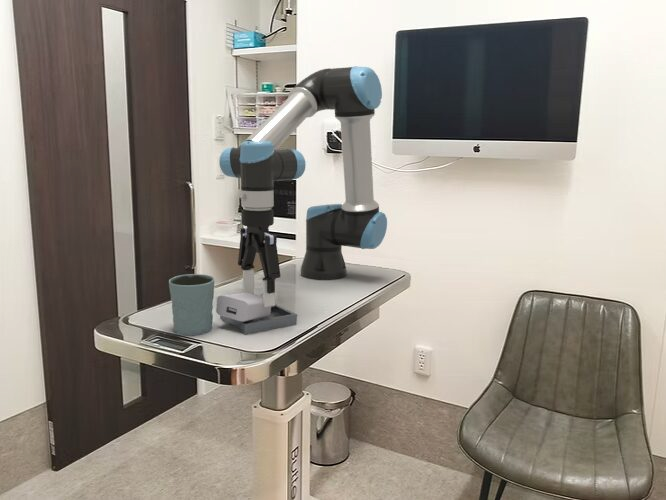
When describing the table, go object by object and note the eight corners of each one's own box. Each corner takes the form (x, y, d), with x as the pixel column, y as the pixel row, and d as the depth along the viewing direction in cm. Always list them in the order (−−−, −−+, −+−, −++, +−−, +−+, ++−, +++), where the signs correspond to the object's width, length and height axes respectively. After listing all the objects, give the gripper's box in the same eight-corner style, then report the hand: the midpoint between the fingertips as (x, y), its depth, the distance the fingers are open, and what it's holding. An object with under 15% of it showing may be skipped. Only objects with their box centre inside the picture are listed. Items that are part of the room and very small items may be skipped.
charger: (285, 314, 137) (246, 322, 124) (256, 307, 142) (215, 314, 129) (287, 296, 137) (248, 302, 124) (258, 289, 141) (217, 294, 129)
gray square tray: (269, 310, 143) (269, 300, 143) (296, 324, 133) (296, 314, 132) (220, 318, 136) (220, 309, 135) (245, 334, 125) (245, 324, 124)
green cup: (207, 320, 135) (205, 272, 132) (222, 332, 126) (221, 281, 124) (165, 326, 129) (163, 277, 127) (178, 340, 121) (176, 287, 119)
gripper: (222, 204, 136) (224, 292, 140) (266, 215, 118) (267, 315, 122) (250, 202, 140) (251, 288, 144) (296, 212, 122) (296, 309, 127)
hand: (258, 300), depth 133 cm, fingers closed on charger, 10 cm apart
